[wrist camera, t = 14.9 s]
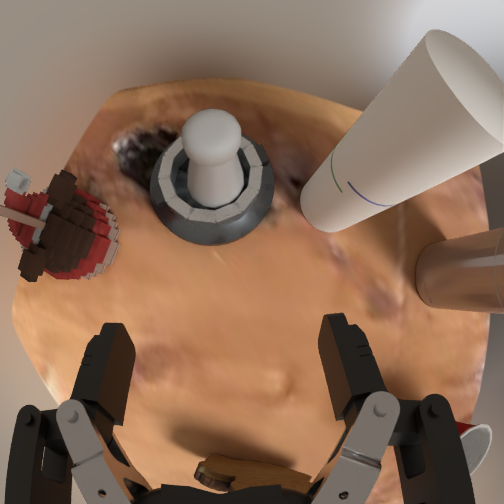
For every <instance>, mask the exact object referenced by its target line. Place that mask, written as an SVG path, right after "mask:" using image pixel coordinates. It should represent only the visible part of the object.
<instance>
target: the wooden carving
mask: <svg viewBox="0 0 504 504" xmlns="http://www.w3.org/2000/svg"><path fill="white" fill-rule="evenodd" d="M194 478H195V479H196V480H198V481H199V482H200V483H201V484H203V485H205V486H206V487H208V488H211V489H215V490H217V491H224V492H227V491H228V492H232V491H236V490H240V489H244V488H248V487H253V486H267V485H278V484H281V487H283V488H289V489H294V490H297V491H300V492H302V493H306V492H307V490H308V489H309V487H310V486H311V484H312V483H310V480H311V478H312V477H311V476H309V475H307V474H304V473H301V472H297V471H295V470H292V469H288V468H285V467H282V466H278V465H274V464H269V463H264V462H259V461H252V460H233V459H230V458H228V457H225V456H222V455H218V454H210V456H209V458H207V459H206V460H205V461H201V462H199V464H198V467H197V469H196V471H195V474H194Z"/></svg>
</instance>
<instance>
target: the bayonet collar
mask: <svg viewBox="0 0 504 504" xmlns="http://www.w3.org/2000/svg"><path fill="white" fill-rule="evenodd" d="M237 156H238V159H239V162H240V165H241V168H242V171H243V175H244V186H243V188H242V190H241V192H240V194H239V196H238V198H237V199H235V200H234V201H233V202H232V203H230V204H229V205H227V206H223V207H219V208H211V207H206V206H203V205H202V204H200V203H199V202H197V201H196V200H195V199H193V198H192V196H191V194H190V191H189V189H188V187H187V175H188V168H189V161H190V158H188V156H187V154H186V152H185V150H184V148H183V146H182V136H181V137H179V138H178V139H176V140H175V141H173V142H172V143H171V144H170V145H169V146H168V147H167V148H166V149H165V150H164V151H163V152H162V154H161V155H160V157H159V158H158V160H157V162H156V164H155V166H154V168H153V172H152V175H151V181H150V195H151V200H152V204H153V207H154V209H155V212H156V214H157V215H158V217H159V219H160V220H161V221H162V223H163V224H164V225H165V226H166V227H167V228H168V229H169V230H170V231H172V232H173V233H174V234H175V235H177V236H178V237H180V238H181V239H183V240H185V241H188V242H190V243H193V244H197V245H203V246H219V245H224V244H229V243H231V242H234V241H237V240H239V239H241V238H243V237H244V236H246V235H247V234H249V233H250V232H251V231H252V230H254V229H255V228H256V227H257V226H258V224H259V223H260V222H261V221H262V219H263V218H264V216H265V215H266V213H267V211H268V209H269V207H270V205H271V202H272V199H273V194H274V184H275V181H274V173H273V169H272V166H271V164H270V160H269V158H268V156H267V154H266V152H265V150H264V148H263V146H262V145H258V144H257V143H256V142H254V141H253V140H252V139H250V138H249V137H247V136H245V135H244V134H242V133H241V145H240V147H239V149H238V151H237Z"/></svg>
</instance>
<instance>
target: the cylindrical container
mask: <svg viewBox="0 0 504 504" xmlns="http://www.w3.org/2000/svg"><path fill="white" fill-rule="evenodd" d="M502 152H504V85H503V83H502V81H501V80H500V78H499V77H498V76H497V74H496V73H495V72H494V70H493V69H492V68H491V67H490V66H489V64H488V63H487V62H486V61H485V60H484V59H483V58H482V57H481V56H480V55H479V54H478V53H477V52H476V51H474V49H472V48H471V47H470V46H469V45H467V44H466V43H465V42H463V41H462V40H460V39H459V38H457V37H455V36H453V35H451V34H449V33H447V32H445V31H441V30H430V31H428V32H427V34H426V35H425V36H424V37H423V39H422V40H421V41H420V42H419V44H418V45H417V46H416V47H415V49H414V50H413V51H412V52H411V54H410V55H409V56H408V57H407V59H406V60H405V61H404V62H403V63H402V65H401V66H400V67H399V69H398V70H397V71H396V72H395V73H394V75H393V76H392V77H391V78H390V80H389V81H388V82H387V83H386V85H385V86H384V87H383V88H382V90H381V91H380V92H379V93H378V95H377V96H376V97H375V98H374V100H373V101H372V102H371V103H370V105H369V106H368V107H367V108H366V110H365V111H364V112H363V113H362V115H361V116H360V117H359V118H358V119H357V121H356V122H355V123H354V124H353V126H352V127H351V128H350V129H349V131H348V132H347V133H346V134H345V136H344V137H343V138H342V139H341V141H340V142H339V143H338V144H337V146H336V147H335V148H334V149H333V151H332V152H331V153H330V154H329V156H328V157H327V158H326V159H325V161H324V162H323V163H322V164H321V166H320V167H319V168H318V169H317V171H316V172H315V173H314V174H313V176H312V177H311V178H310V179H309V181H308V182H307V183H306V184H305V186H304V187H303V189H302V192H301V195H300V205H301V210H302V212H303V215H304V216H305V218H306V220H307V221H308V222H309V223H310V224H311V225H312V226H313V227H315V228H317V229H318V230H321V231H324V232H330V233H331V232H338V231H340V230H343V229H345V228H347V227H349V226H352V225H354V224H356V223H358V222H360V221H362V220H364V219H367V218H369V217H371V216H373V215H375V214H377V213H379V212H381V211H384V210H386V209H388V208H390V207H392V206H394V205H396V204H398V203H400V202H403V201H405V200H407V199H409V198H411V197H413V196H415V195H417V194H419V193H421V192H423V191H426V190H428V189H430V188H432V187H434V186H436V185H438V184H440V183H442V182H444V181H446V180H448V179H450V178H452V177H454V176H456V175H458V174H460V173H462V172H465V171H467V170H469V169H471V168H473V167H475V166H477V165H479V164H481V163H483V162H485V161H486V160H488V159H491V158H492V157H495V156H496V155H498V154H500V153H502Z"/></svg>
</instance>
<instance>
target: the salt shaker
mask: <svg viewBox="0 0 504 504" xmlns="http://www.w3.org/2000/svg"><path fill="white" fill-rule="evenodd" d="M240 145H241V128H240V125H239V123H238V122H237V120H236V119H235V117H234V116H233V115H231V114H229V113H228V112H226V111H225V110H220V109H213V108H211V109H206V110H201V111H198V112H197V113H195V114H194V115H192V116H191V117H189V118H188V120H187V121H186V123H185V125H184V126H183V128H182V146H183V148H184V150H185V152H186V154H187V156H188V158H190V161H189V168H188V175H187V187H188V189H189V191H190V194H191V196H192V198H193V199H195V200H196V201H197V202H199V203H200V204H202V205H203V206H206V207H211V208H219V207H223V206H227V205H229V204H230V203H232V202H233V201H234V200H235V199H237V198H238V196H239V194H240V192H241V190H242V188H243V186H244V175H243V171H242V168H241V165H240V162H239V159H238V156H237V151H238V149H239V147H240Z"/></svg>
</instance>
